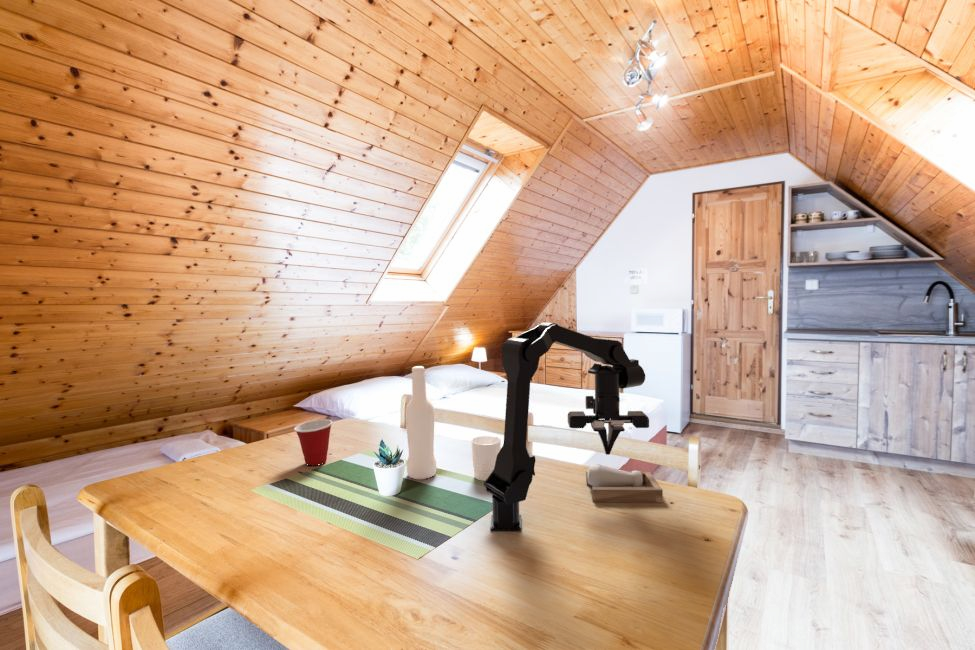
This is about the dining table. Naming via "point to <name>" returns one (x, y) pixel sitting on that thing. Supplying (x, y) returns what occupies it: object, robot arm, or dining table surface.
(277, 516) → the dining table surface
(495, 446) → the white cup
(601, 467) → the salt shaker
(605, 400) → the robot arm
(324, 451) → the plastic cup
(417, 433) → the bottle
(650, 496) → the rest
